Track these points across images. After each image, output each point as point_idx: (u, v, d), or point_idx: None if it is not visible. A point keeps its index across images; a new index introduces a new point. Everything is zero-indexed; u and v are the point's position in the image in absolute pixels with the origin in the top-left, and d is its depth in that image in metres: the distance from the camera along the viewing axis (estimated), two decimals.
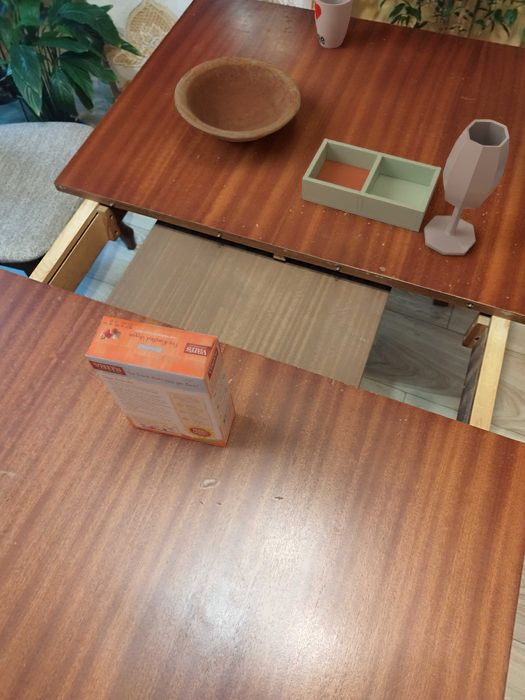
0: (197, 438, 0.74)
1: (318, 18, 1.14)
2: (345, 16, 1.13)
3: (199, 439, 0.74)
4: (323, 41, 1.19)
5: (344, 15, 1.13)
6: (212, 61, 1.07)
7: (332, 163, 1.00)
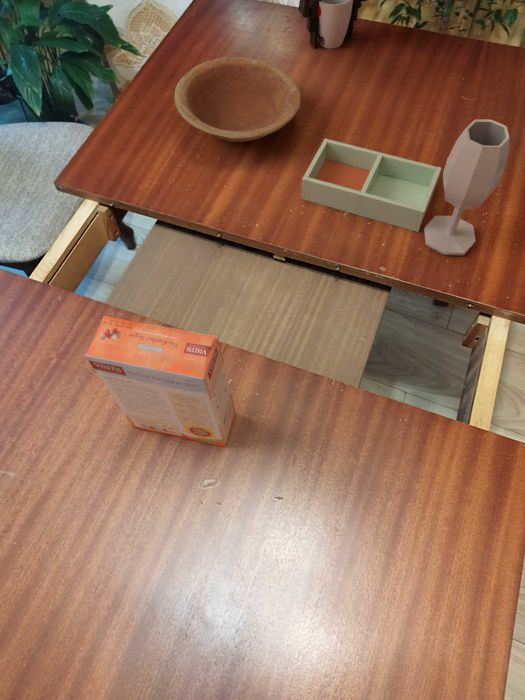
0: (197, 438, 0.74)
1: None
2: (345, 16, 1.13)
3: (199, 439, 0.74)
4: (323, 41, 1.19)
5: (344, 15, 1.13)
6: (212, 61, 1.07)
7: (332, 163, 1.00)
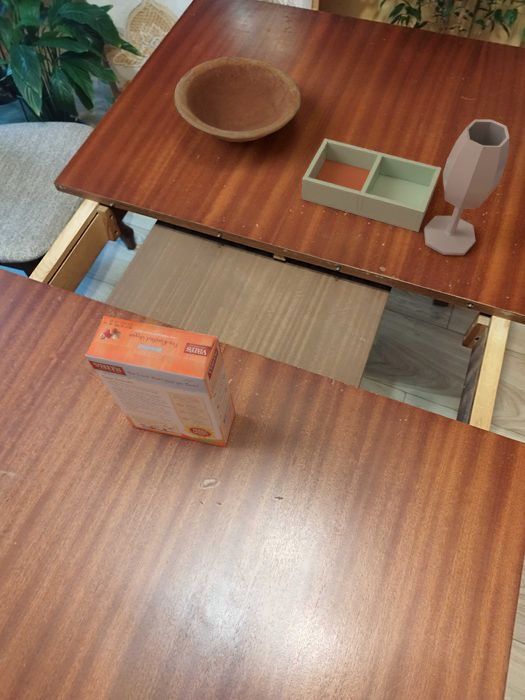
0: (197, 438, 0.74)
1: None
2: None
3: (199, 439, 0.74)
4: None
5: None
6: (212, 61, 1.07)
7: (332, 163, 1.00)
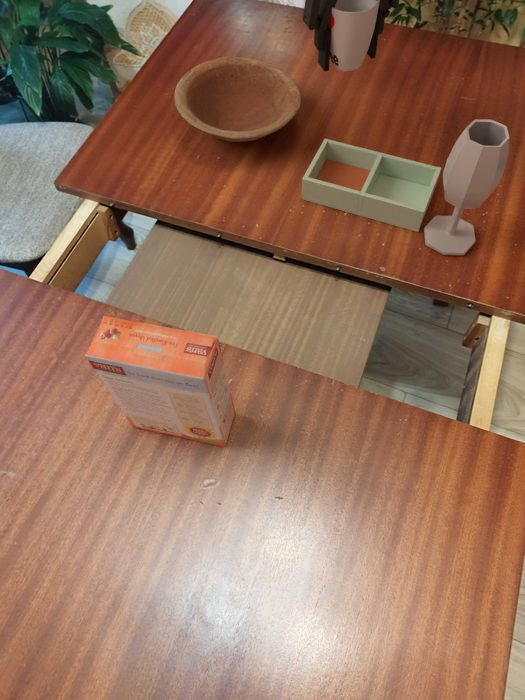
0: (197, 438, 0.74)
1: None
2: (367, 28, 0.82)
3: (199, 439, 0.74)
4: (336, 61, 0.87)
5: (366, 27, 0.82)
6: (212, 61, 1.07)
7: (332, 163, 1.00)
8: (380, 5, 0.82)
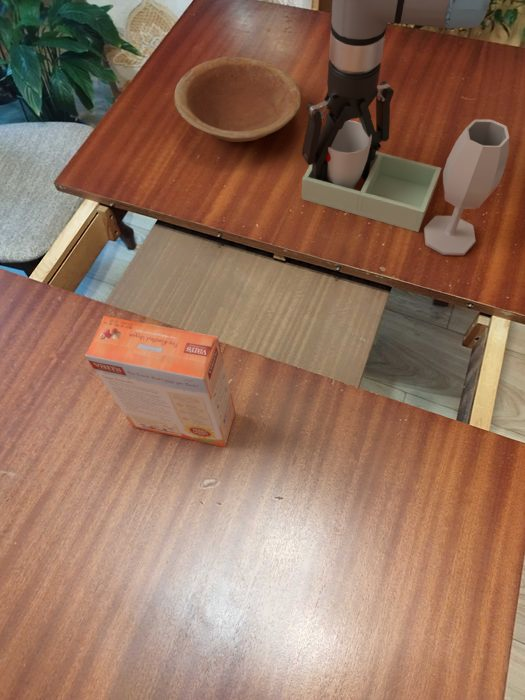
0: (197, 438, 0.74)
1: None
2: (360, 163, 0.90)
3: (199, 439, 0.74)
4: None
5: (359, 162, 0.90)
6: (212, 61, 1.07)
7: None
8: (372, 141, 0.91)
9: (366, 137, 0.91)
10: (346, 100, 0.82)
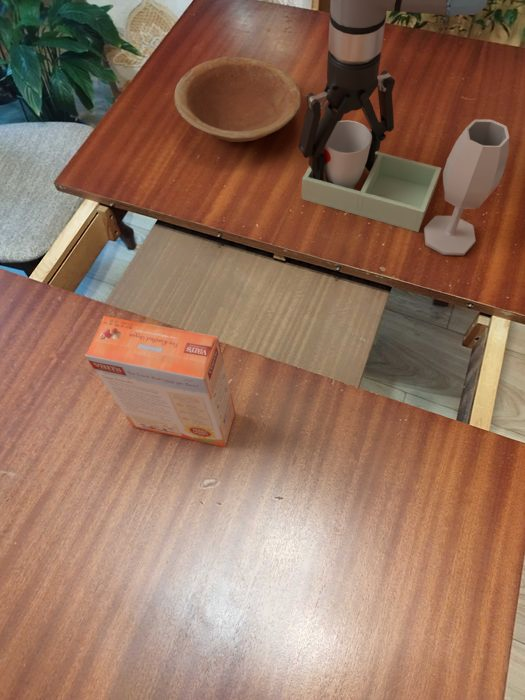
0: (197, 438, 0.74)
1: (327, 163, 0.91)
2: (360, 163, 0.90)
3: (199, 439, 0.74)
4: None
5: (359, 162, 0.90)
6: (212, 61, 1.07)
7: None
8: (376, 131, 0.89)
9: (366, 137, 0.91)
10: (346, 91, 0.81)
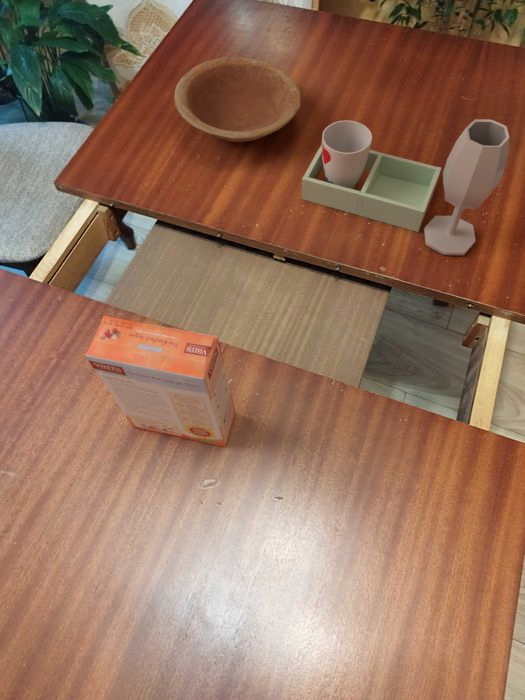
0: (197, 438, 0.74)
1: (327, 163, 0.91)
2: (360, 163, 0.90)
3: (199, 439, 0.74)
4: None
5: (359, 162, 0.90)
6: (212, 61, 1.07)
7: None
8: None
9: (366, 137, 0.91)
10: None
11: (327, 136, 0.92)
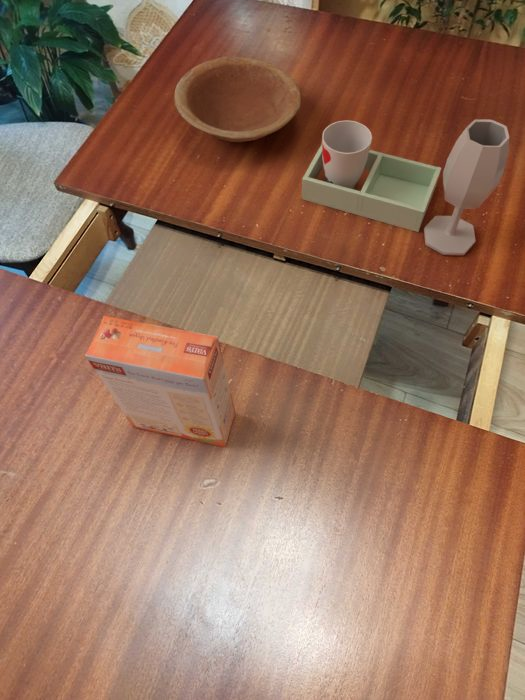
0: (197, 438, 0.74)
1: (327, 163, 0.91)
2: (360, 163, 0.90)
3: (199, 439, 0.74)
4: None
5: (359, 162, 0.90)
6: (212, 61, 1.07)
7: None
8: None
9: (366, 137, 0.91)
10: None
11: (327, 136, 0.92)
